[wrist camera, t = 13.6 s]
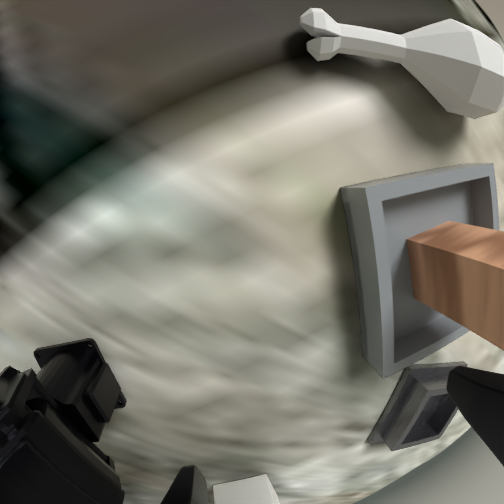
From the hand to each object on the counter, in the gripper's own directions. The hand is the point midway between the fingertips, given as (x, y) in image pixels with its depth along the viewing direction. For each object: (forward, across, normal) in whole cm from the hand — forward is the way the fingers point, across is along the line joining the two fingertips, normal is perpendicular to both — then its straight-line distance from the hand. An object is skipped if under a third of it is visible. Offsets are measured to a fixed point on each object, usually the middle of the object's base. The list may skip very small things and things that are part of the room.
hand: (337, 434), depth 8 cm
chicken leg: (+13, -15, -15) cm, 25 cm away
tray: (+13, -14, +1) cm, 19 cm away
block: (+12, -14, +1) cm, 18 cm away
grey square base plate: (+13, -14, +18) cm, 26 cm away
